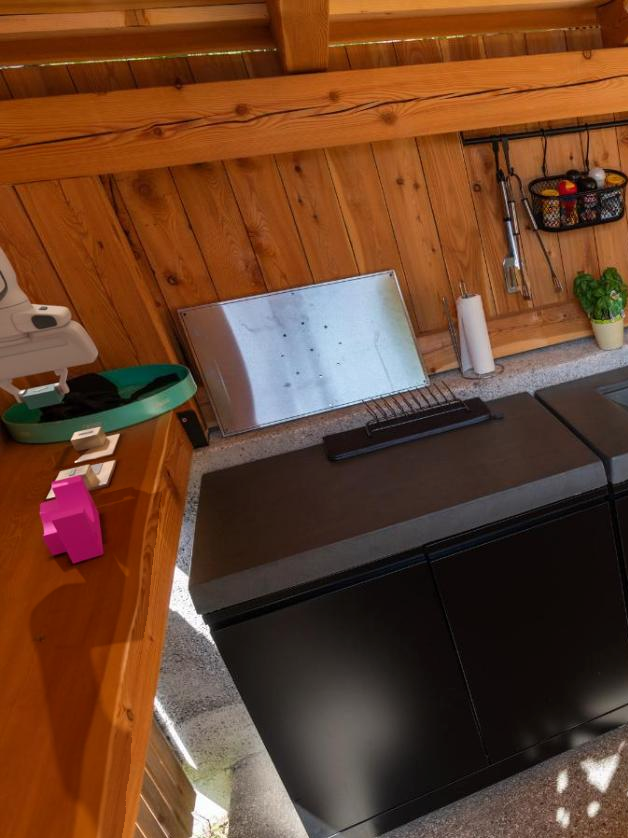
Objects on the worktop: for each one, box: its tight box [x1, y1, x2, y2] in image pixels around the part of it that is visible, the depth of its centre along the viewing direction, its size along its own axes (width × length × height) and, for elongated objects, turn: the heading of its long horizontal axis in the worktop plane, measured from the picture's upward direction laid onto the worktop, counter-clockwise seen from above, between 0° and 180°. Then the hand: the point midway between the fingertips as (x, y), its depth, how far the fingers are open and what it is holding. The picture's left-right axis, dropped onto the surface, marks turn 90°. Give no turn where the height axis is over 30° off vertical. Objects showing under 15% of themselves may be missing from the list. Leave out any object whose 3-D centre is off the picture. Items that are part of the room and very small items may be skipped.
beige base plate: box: [45, 459, 117, 501], centre depth 137 cm, size 9×11×3 cm
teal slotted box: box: [23, 383, 65, 411], centre depth 136 cm, size 4×4×3 cm
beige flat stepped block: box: [70, 426, 121, 463], centre depth 149 cm, size 9×11×3 cm
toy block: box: [39, 475, 104, 564], centre depth 117 cm, size 15×6×8 cm, turn 37°
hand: (44, 397), depth 136 cm, fingers closed on teal slotted box, 4 cm apart
